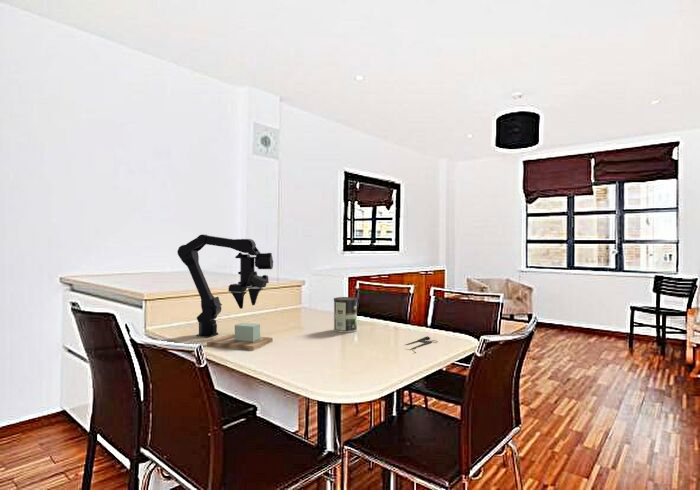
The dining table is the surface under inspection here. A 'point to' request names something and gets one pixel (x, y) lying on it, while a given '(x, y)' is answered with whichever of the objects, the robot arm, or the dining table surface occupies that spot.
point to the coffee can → (345, 314)
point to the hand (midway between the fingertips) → (247, 306)
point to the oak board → (238, 342)
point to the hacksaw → (421, 344)
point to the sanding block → (247, 332)
